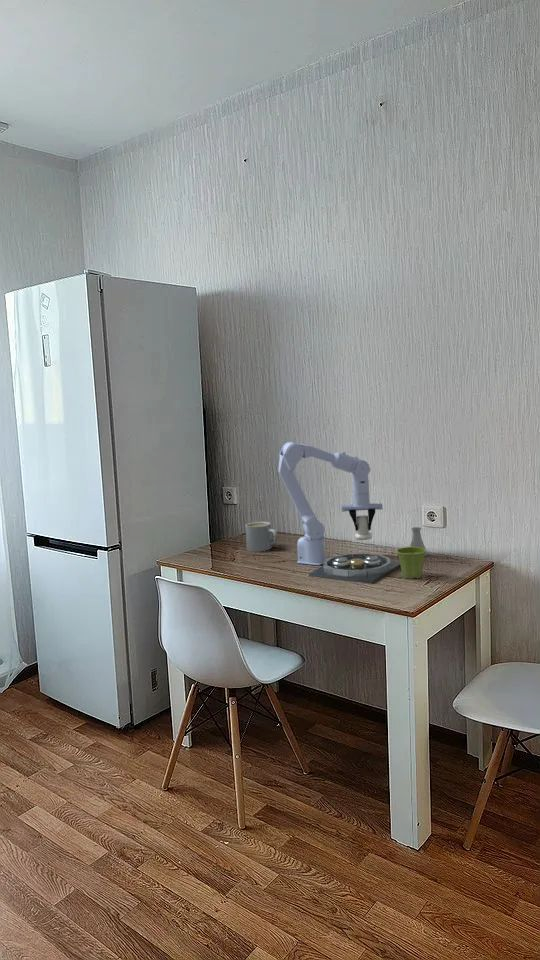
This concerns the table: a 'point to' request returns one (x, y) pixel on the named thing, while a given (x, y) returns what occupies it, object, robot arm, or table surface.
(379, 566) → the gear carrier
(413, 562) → the plant pot
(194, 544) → the table surface
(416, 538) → the flask
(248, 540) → the coffee mug
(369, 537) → the white mushroom peg
